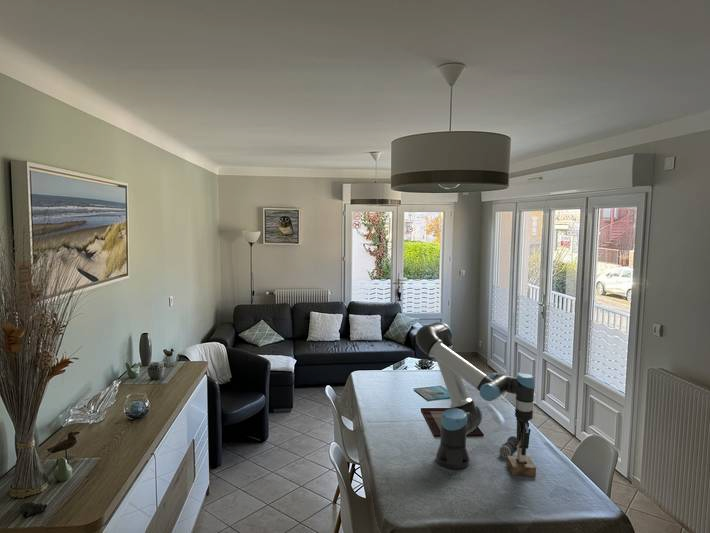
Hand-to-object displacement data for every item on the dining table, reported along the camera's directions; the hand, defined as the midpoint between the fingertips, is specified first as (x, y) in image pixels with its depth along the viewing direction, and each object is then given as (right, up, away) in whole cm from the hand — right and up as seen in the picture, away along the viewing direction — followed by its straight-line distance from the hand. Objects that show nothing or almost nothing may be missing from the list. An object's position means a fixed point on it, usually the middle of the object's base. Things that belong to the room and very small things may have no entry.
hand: (521, 459), depth 214 cm
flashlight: (+1, -4, +18) cm, 19 cm away
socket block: (0, -5, 0) cm, 5 cm away
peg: (0, -4, 0) cm, 4 cm away
